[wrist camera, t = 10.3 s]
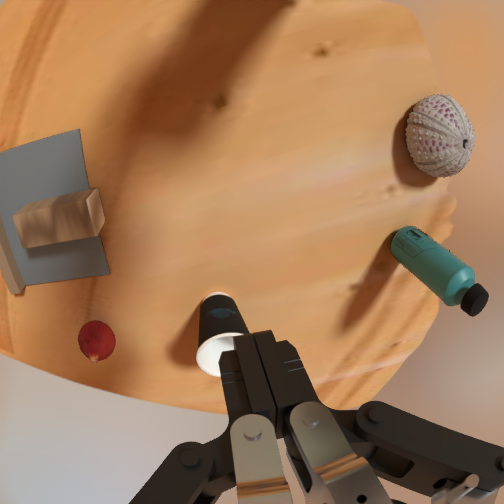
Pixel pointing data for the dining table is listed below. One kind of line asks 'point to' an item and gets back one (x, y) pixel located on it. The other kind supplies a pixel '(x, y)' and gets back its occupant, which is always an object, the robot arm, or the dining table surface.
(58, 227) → the cardboard box
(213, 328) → the dixie cup
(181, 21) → the dining table surface
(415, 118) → the sea urchin shell
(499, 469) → the robot arm
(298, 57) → the dining table surface
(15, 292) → the grey flat slab
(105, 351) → the onion
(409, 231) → the beverage bottle
